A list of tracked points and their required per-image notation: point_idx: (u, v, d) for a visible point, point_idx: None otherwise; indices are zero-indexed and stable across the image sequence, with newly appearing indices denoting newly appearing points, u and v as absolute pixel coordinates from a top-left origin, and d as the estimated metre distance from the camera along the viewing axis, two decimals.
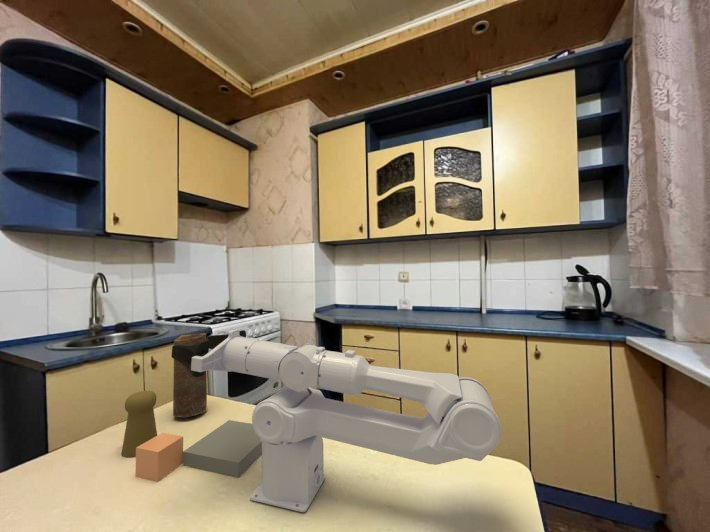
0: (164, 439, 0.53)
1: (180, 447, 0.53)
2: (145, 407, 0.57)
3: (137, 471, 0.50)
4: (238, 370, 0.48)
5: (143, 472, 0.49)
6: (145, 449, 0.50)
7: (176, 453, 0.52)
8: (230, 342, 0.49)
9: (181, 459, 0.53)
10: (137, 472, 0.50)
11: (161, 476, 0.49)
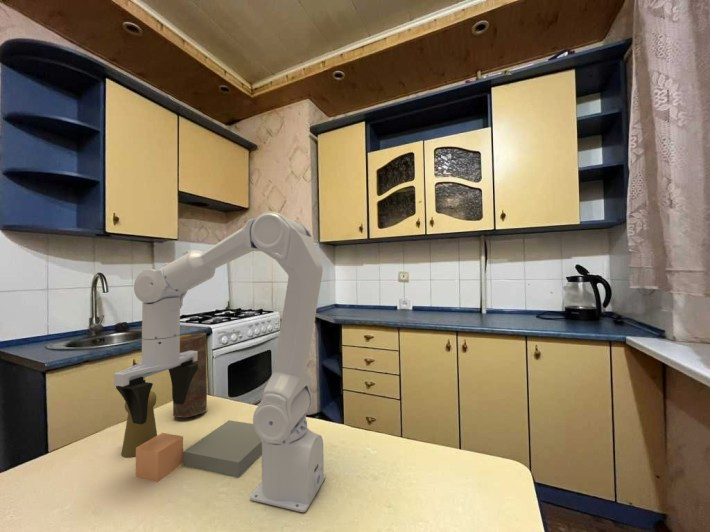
0: (164, 439, 0.53)
1: (180, 447, 0.53)
2: None
3: (137, 471, 0.50)
4: (158, 348, 0.50)
5: (143, 472, 0.49)
6: (145, 449, 0.50)
7: (176, 453, 0.52)
8: None
9: (181, 459, 0.53)
10: (137, 472, 0.50)
11: (161, 476, 0.49)
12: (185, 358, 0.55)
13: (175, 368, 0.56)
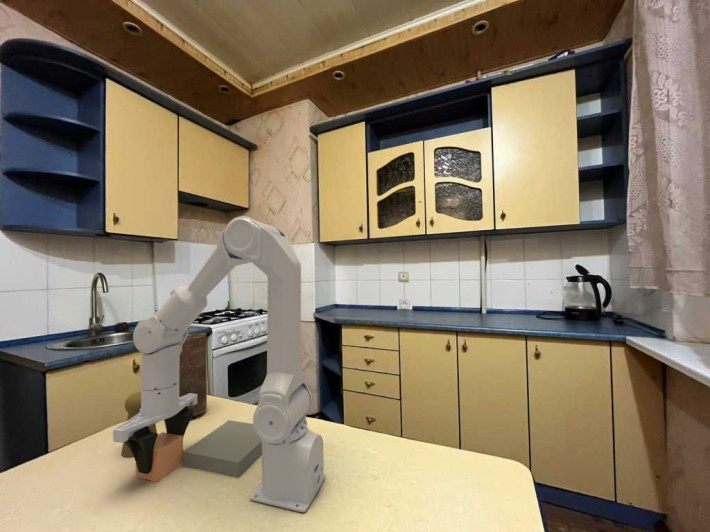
0: (164, 438, 0.53)
1: (180, 446, 0.53)
2: None
3: (137, 470, 0.50)
4: (157, 399, 0.50)
5: None
6: None
7: (176, 452, 0.52)
8: None
9: (181, 458, 0.53)
10: (137, 471, 0.50)
11: (161, 475, 0.49)
12: (185, 404, 0.55)
13: None
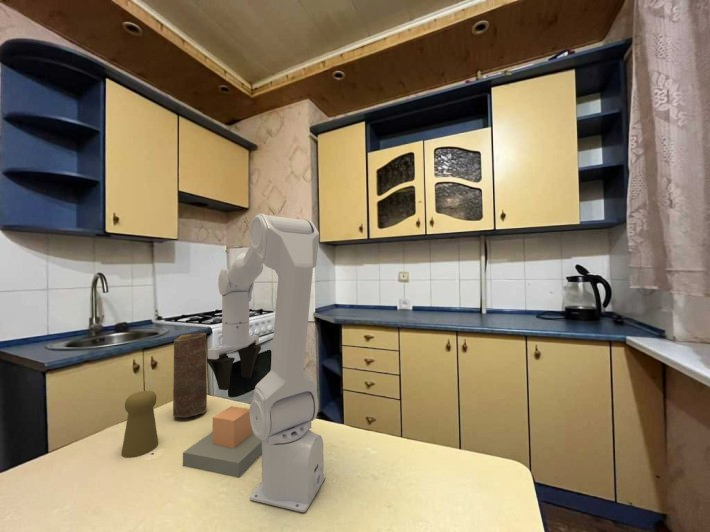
0: (235, 411, 0.58)
1: (249, 418, 0.58)
2: (145, 407, 0.57)
3: (214, 438, 0.55)
4: (236, 331, 0.63)
5: (220, 439, 0.55)
6: (221, 418, 0.55)
7: (246, 424, 0.57)
8: (222, 341, 0.65)
9: (250, 430, 0.58)
10: (214, 439, 0.55)
11: (236, 443, 0.54)
12: (252, 340, 0.68)
13: (243, 349, 0.69)
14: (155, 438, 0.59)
